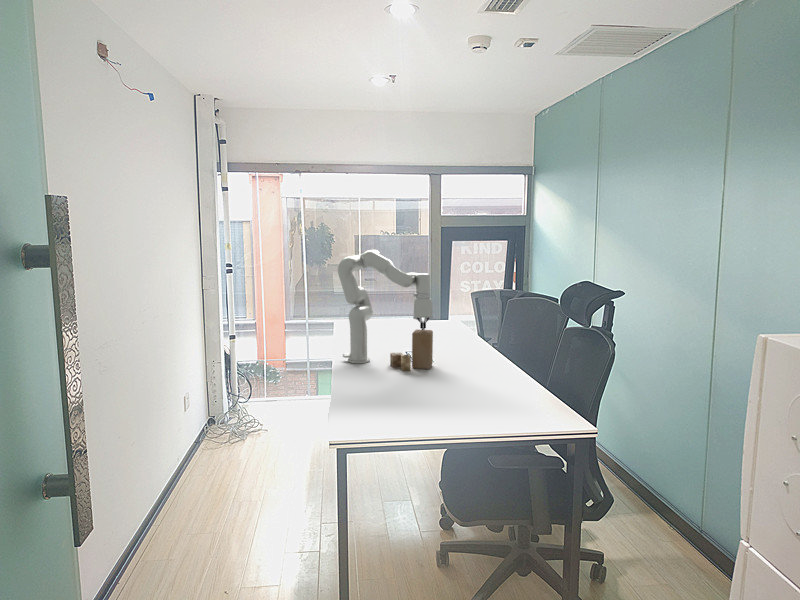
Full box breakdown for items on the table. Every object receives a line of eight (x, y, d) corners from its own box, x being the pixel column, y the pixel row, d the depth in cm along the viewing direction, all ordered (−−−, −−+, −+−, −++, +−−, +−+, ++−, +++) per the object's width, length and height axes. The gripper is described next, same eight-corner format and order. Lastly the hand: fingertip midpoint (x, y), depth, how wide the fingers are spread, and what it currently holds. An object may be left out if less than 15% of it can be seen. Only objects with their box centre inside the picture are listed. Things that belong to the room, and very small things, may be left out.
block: (429, 369, 302) (430, 333, 300) (411, 368, 304) (411, 332, 302) (432, 365, 312) (433, 329, 309) (414, 364, 314) (415, 329, 311)
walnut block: (392, 368, 306) (392, 355, 305) (390, 365, 312) (390, 352, 311) (403, 367, 307) (403, 354, 306) (400, 364, 313) (400, 352, 312)
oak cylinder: (401, 371, 299) (401, 356, 298) (401, 368, 304) (401, 354, 303) (410, 371, 299) (410, 356, 298) (410, 368, 304) (410, 354, 303)
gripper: (409, 297, 299) (409, 330, 302) (437, 297, 299) (437, 330, 301) (409, 295, 307) (409, 328, 309) (436, 295, 306) (436, 328, 309)
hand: (423, 329), depth 305 cm, fingers closed
